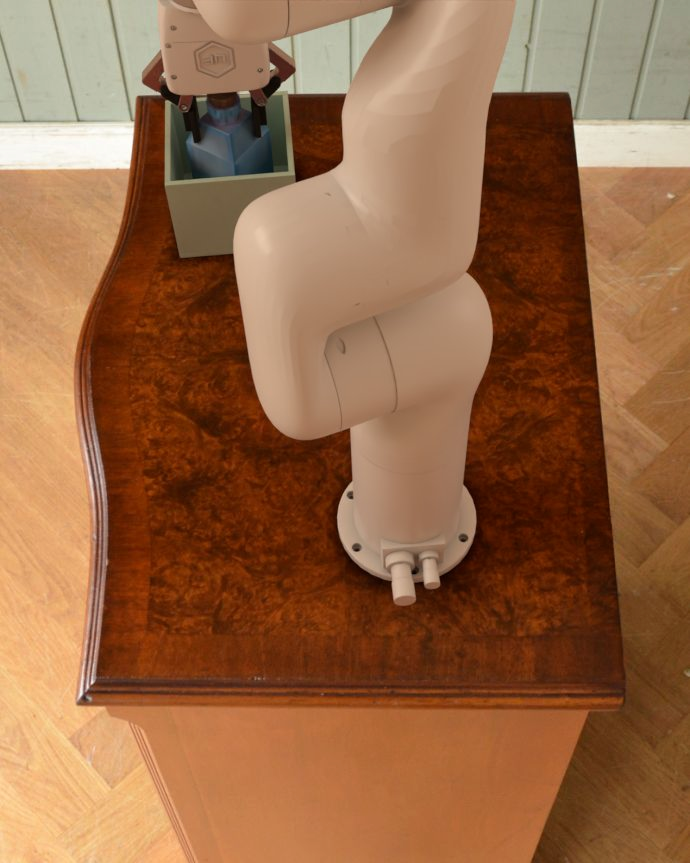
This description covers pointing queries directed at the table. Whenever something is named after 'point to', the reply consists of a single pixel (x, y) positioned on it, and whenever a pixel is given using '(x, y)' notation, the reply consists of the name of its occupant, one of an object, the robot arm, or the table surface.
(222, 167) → the perfume bottle
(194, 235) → the waste bin
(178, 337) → the table surface
